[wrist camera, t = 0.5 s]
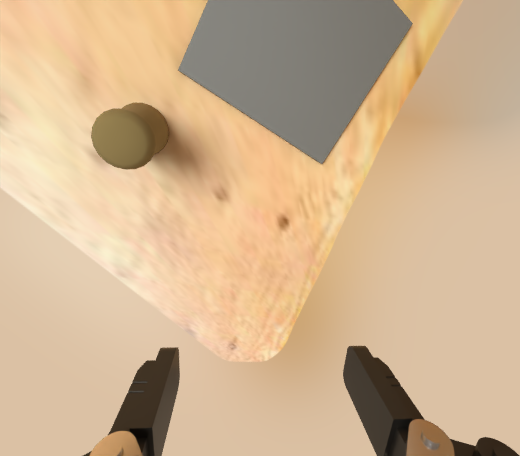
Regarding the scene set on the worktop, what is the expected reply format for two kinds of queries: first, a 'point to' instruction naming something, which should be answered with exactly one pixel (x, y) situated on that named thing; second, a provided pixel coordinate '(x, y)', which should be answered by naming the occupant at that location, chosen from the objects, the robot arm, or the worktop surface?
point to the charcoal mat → (295, 61)
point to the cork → (129, 135)
